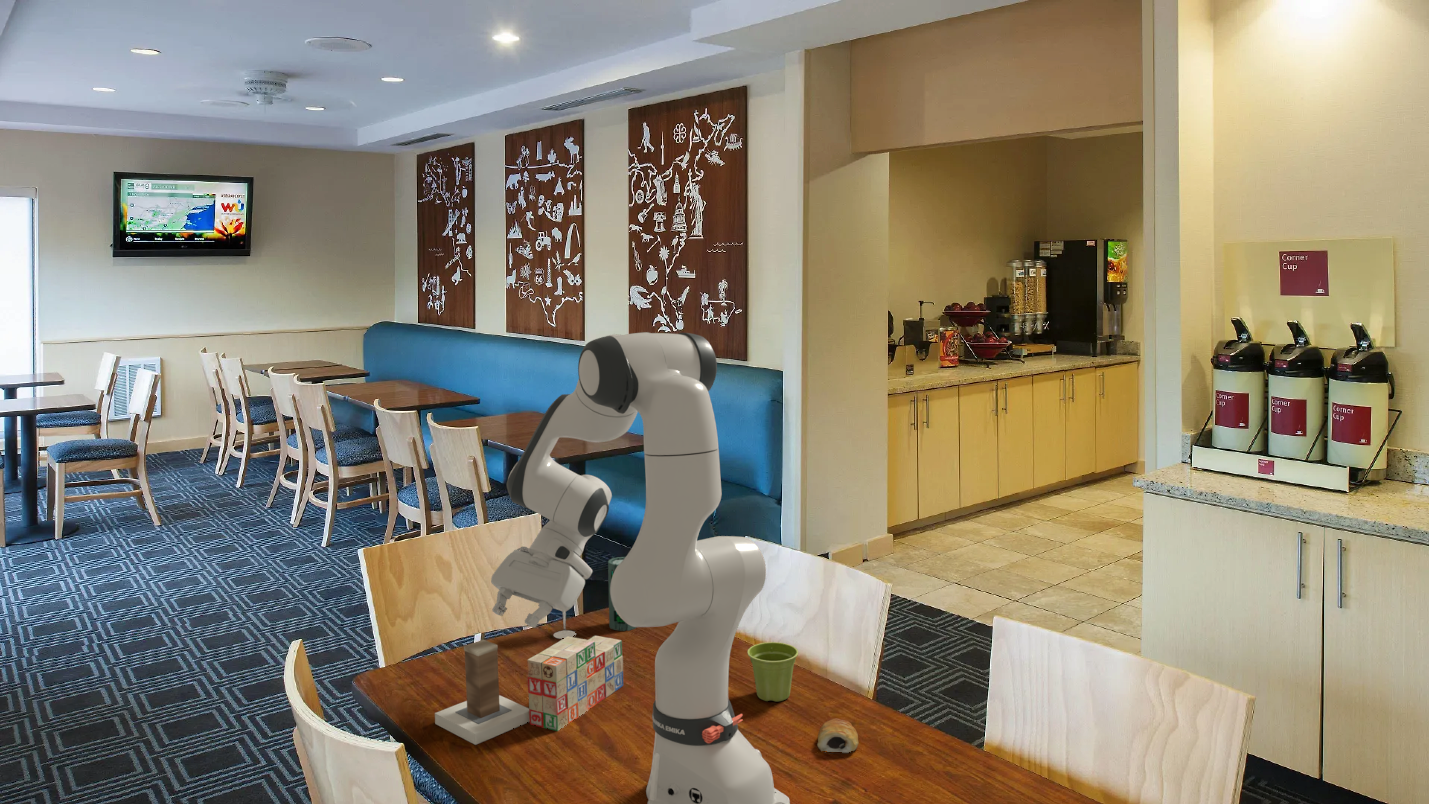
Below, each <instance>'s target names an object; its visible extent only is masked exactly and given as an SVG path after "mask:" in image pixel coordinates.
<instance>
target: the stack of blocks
mask: <svg viewBox="0 0 1429 804" xmlns="http://www.w3.org/2000/svg"><path fill="white" fill-rule="evenodd" d="M526 661H527V690H528V708H529V718H530V722H529V725H530V726H534V725H536V726H535V727H539V728H542V729H547V728H548V730H552V731H555V732H559V731H560V729H561V728H562V729H563V728H565V727H566V726H567V724H568V725H570V724H571V723H573V722H574V721H575V720H574V719H576V720H577V719H578V718H580V717H582V716H583V715H585V714H586V713H587V712H588V711H589V710H591V709H592V708H594V706H596V705H598V704H599V703H600V702H602V701H603V700H604V699H606V698H608V697H610V696H611V695H612V694H613V693H615V692H616V691H618V690H619V689H621V688H622V687H623V686H624V656H623V641H622V640H621V639H617V638H612V637H605V636H599V635H593V636H592V637H590V638H589V639H585V638H584V639H583V638H579V637H575V636H574V637H569V636H568V637H566V638H564V639H561V640H559V641H558V642H556V643H554V644H553V645H550V646H549V647H547V648H546V649H544V650H542V651H541V652H539V653H537V654H536V655H535V654H534V655H533V656H532V657H529V658H528V659H527V660H526ZM590 708H591V709H590ZM586 711H587V712H586ZM585 712H586V713H585ZM582 714H583V715H582ZM581 715H582V716H581ZM579 716H580V717H579ZM573 720H574V721H573ZM572 721H573V722H572ZM570 722H571V723H570ZM569 723H570V724H569ZM565 725H566V726H565ZM564 726H565V727H564ZM562 729H561V730H562Z"/></svg>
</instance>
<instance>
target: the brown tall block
mask: <svg viewBox="0 0 1429 804" xmlns="http://www.w3.org/2000/svg"><path fill="white" fill-rule="evenodd" d="M498 646H499V645H498V644H496V643H493V642H491V641H488V640H485V639H481V640H478V641H475V642H472V643H469V644H467V645H463V651H464V664H465V665H464V666H465V667H464V668H465V687H466V688H465V689H466V701H467V712H469V713H471V714H473V715H475V716H477V717H479V718H483V717H485V716H488V715H490V714H493V713H495V712H497V711H500V706H499V695H500V685H499V664H498V662H499V660H498V658H499V657H498V649H499V648H498Z"/></svg>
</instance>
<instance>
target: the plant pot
mask: <svg viewBox="0 0 1429 804" xmlns="http://www.w3.org/2000/svg"><path fill="white" fill-rule="evenodd" d="M747 655H748V657H749V659H750V662H751V665H752V671H753V675H754V676H753V677H754V684H755V689H756V696H757V697H758V698H759V699H760V700H762V701H764V702H768V701H772V702H775V703H776V702H782V701H784V700H787V699H789V697H790V695H791V688H792V680H793V672H794V664H795V663H796V658H797V657H798V656H799V650H798V649H797V647H795V646H794V645H792V644H788V643H784V642H779V641H778V642H776V641H772V642H771V641H770V642H760V643H757V644H754V645H752V646H750V647H749V648H748V649H747Z"/></svg>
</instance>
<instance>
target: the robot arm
mask: <svg viewBox="0 0 1429 804" xmlns="http://www.w3.org/2000/svg"><path fill="white" fill-rule="evenodd" d="M577 364H578V365H577V367H578V368H577V369H578V370H577V371H578V372H577V374H578V380H577V382H576V386H575V389H574V390H573V392H571V393H567V394H566V393H565V394H564V393H563V394H560V396H558V397H557V398H556V399H555V400H553V402H552V403H551V404H550V405H549V407H548V408H547V410H546V411H545V413H544V415H543V416H542V418H541V420H540V421H539V422H538V425H537V427H536V428H535V430H534V432H533V433H532V436H531V438H530V440H529V441H528V443H527V445H526V447H525V449H524V450H523V453H522V455H521V456H520V458H519V459H518V461H517V462H516V463H515V464H514V466H513V468H511V469H512V470H511V471H510V472H509V475H508V478H507V481H506V489H507V492H508V495H509V498H510V500H511V501H512V503H514V504H516V505H518V506H521V507H523V508H526V509H528V510H531V511H533V512H535V513H536V514H538V515H540V516H542V517H544V518H546V519H548V522H547V523H546V524H544V526H542V528H541V530H539V533H538V534H537V536H536V537H535V538H534V540H533V541H532V543H531V545H530V546H529V547H527V546H521V547H519V548H517V549H514V550H513V551H512V552H510V553H509V554H508V555H507V556H506V557H505V559H504V560H503V561H502V562H501V563H500V564H499V566H498V567H497V568H496V570H495V571H494V573H493V574H492V576H491V578H490V582H491V585H493V586H494V587H495V588H496V589H497V590H498V592H497V596H496V603H495V604H494V605H493V607H492V612H493V613H494V615H497V616H500V617H503V616H504V615H505V613H506V611H507V610H508V607H506V605H507V601H508V600H510V599H511V598H512V596H515V597H517V598H521V599H524V600H527V601H530V602H533V603H535V604H538V608H537V609H535V611H533V613H528V614H527V616H526V618H525V620H524V623H525V624H526V625H527V626H528V627H530V628H536V627H537V626H538V624H539V622H540V621H541V620H543V619H544V618H545V617H547V616H548V615H549V614H551V612H552V611H553V609H554V610H558V611H561V612H562V613H563V612H565V611H566V612H567V611H569V610H570V609H571V608H573V606H574V605H575V603H576V602H577V600H578V598H579V597H580V595H581V593H582V591H583V589H584V587H585V585H586V580H588V579H589V578H590V577H591V576H592V574H593V569H592V568H591V567H590V565H588V564H587V562H585V560H584V559H582V557H581V556H582V554H583V552H584V549H585V545H586V543H587V542H588V540H589V539H591V538H592V536H594V535H596V534H597V533H598V531H599V530H600V528H601V526H602V525H603V523H604V521H605V520H606V518H607V516H608V513H609V509H610V503H611V500H612V497H613V495H612V491H611V489H610V487H609V486H608V485H607V483H606V482H604V481H603V480H602V479H601V478H599V477H597V476H594V475H591V474H581V475H580V474H578V473H576V472H574V471H572V470H570V469H568V468H567V467H565V466H563V465H562V464H559V463H558V462H557V461H555V460H554V459H553V458H552V456H551V453H552V451H553V449H554V448H555V446H556V444H557V442H558V440H559V439H560V438H566V439H569V438H570V439H576V440H581V441H584V442H589V443H604V442H610V441H613V440H616V439H618V438H620V437H622V436H623V435H625V434H626V433H627V432H628V431H629V430H630V428H631V427H632V425H633V423H634V421H635V419H636V417H637V415H638V414H639V415H640V416H641V417H640V418H641V419H642V426H643V427H642V428H643V454H644V469H645V508H644V514H643V519H642V523H641V525H640V529H639V532H638V534H637V536H636V540H635V542H634V544H633V545H632V548H630V550H629V551H628V553H627V555H626V556H624V557H625V559H624V560H623V561H622V562H621V563H620V564H619V565H618V566H617V568H616V569H615V571H614V574H613V576H612V580H611V586H610V594H611V600H612V603H613V606H614V608H615V610H616V612H617V613H618V615H619V616H620V617H621V618H622V620H623V621H625V622H626V623H627V624H628V625H630V626H633V627H636V628H654V627H665V626H668V625H673V624H676V623H677V625H675V629H674V630H673V631H672V633H671V634H670V635H669V636H668V637H667V638H666V639H665V640H664V642H663V643H662V644H661V645H660V646H659V648H658V650H657V652H656V655H655V660H654V682H655V683H654V685H655V686H654V687H655V688H654V690H655V691H654V692H655V700H653V703H652V704H653V705H652V714H651V719H652V728H653V730H654V732H655V733H654V734H655V735H654V744H653V753H652V761H651V768H650V769H651V770H650V775H649V778H648V782H647V786H646V789H645V793H646V797H647V799H648V800H647V804H791V801H790V798H789V796H787V795H786V794H785V793H783V792H781V791H779V789H777V788H775V787H774V786H775V785H774V777H773V773H772V769H771V767H770V764H769V763H768V762H767V761H766V760H765V758H763V756H762V752H761V751H760V750H759V749H758V748H755V747H754V746H753V745H752V744H751V742H749V741H748V739H747V738H746V737H745V735H743V734H742V733H741V731H740V730H739V725H738V724H739V723H741V722H742V721H744V720H743V719H741V718H742V717H743V713H740V714H738V715H736V716H735V712H734V709H733V705H732V703H731V701H730V699H729V671H730V670H729V669H730V657H731V651H732V648H733V647H732V645H733V642H734V639H735V636H736V633H737V630H738V628H739V625H740V623H741V621H742V619H743V617H744V615H745V613H746V611H747V609H748V608H749V607H750V605H751V604H752V602H753V601H754V599H755V598H756V597H757V596H758V595H759V594H760V592H761V591H762V590H763V588H764V586H765V583H766V579H767V578H766V577H767V566H766V565H767V564H766V561H765V558H764V555H763V553H762V551H761V550H760V548H759V546H758V545H757V544H756V543H755V542H754V541H753V540H751V539H750V538H747V537H745V536H735V535H731V536H728V535H726V536H725V535H721V536H720V535H718V536H717V535H716V536H714V537H709V538H708V537H707V538H703V539H699V540H698V537H699V533H700V531H701V529H702V527H703V525H704V523H705V521H706V520H707V519H708V518H709V517H710V516H711V515H712V514H713V513H714V511H716V509H717V508H719V505H720V502H721V499H722V495H723V494H722V491H723V490H722V481H721V478H722V477H721V463H720V449H719V439H718V431H717V423H716V418H715V413H714V408H713V404H712V400H711V395H710V392H709V391H710V390H711V389H712V388H713V385H714V382H715V380H716V377H717V372H718V371H717V370H718V364H717V357H716V353H715V351H714V349H713V347H712V345H711V344H710V342H709V341H708V340H707V338H705V337H704V336H702V335H699V334H695V333H690V332H679V333H667V332H665V333H662V332H660V333H659V332H658V333H657V332H652V333H651V332H649V331H647V332H646V331H645V332H644V331H643V332H636V333H635V332H634V333H628V334H615V333H613V334H609V335H605V336H602V337H599V338H595V339H592V340H591V341H588V342H587V343H586V344H585V345H584V347H583V349H582V351H581V353H580V354H579V358H578V363H577Z"/></svg>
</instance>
